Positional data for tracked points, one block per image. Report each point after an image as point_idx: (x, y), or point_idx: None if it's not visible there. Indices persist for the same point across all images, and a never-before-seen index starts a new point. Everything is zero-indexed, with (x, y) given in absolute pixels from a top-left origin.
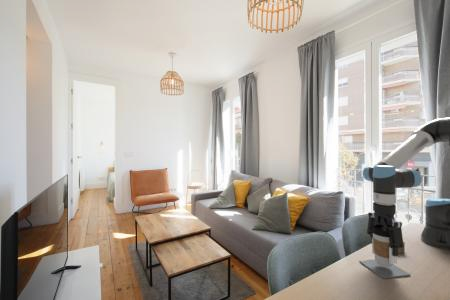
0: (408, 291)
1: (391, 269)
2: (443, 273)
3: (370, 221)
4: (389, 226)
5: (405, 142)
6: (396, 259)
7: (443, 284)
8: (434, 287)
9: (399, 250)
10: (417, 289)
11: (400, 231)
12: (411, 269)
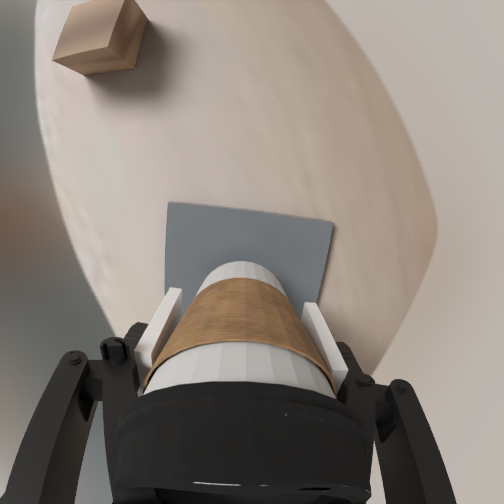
0: (381, 331)
1: (269, 270)
2: (356, 49)
3: (70, 502)
4: (228, 489)
5: None
6: (322, 318)
7: (411, 153)
8: (411, 214)
9: (135, 39)
10: (391, 292)
11: (442, 495)
12: (290, 148)
